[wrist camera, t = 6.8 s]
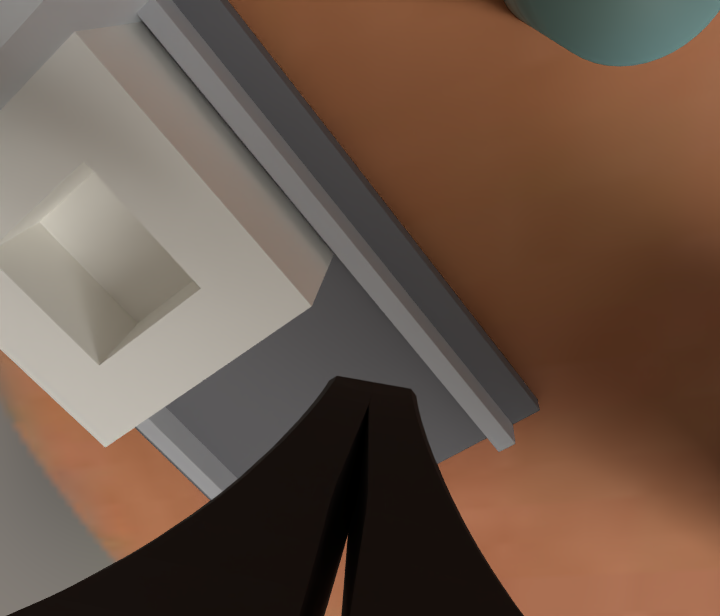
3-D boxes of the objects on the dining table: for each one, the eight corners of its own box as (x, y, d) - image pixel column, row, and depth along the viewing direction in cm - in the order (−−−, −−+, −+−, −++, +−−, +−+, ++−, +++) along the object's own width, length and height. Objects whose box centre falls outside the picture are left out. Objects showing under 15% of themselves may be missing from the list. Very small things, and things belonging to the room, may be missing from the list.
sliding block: (333, 254, 20) (311, 305, 17) (152, 382, 23) (104, 447, 19) (141, 21, 17) (74, 31, 14) (-32, 197, 20) (-120, 237, 17)
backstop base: (537, 399, 22) (569, 555, 16) (269, 542, 26) (216, 705, 20) (120, -139, 16) (-65, -202, 11) (-130, 152, 21) (-359, 222, 15)
